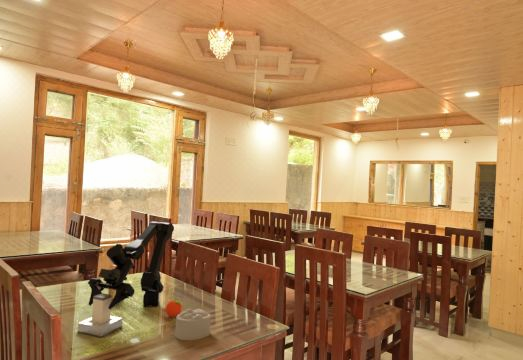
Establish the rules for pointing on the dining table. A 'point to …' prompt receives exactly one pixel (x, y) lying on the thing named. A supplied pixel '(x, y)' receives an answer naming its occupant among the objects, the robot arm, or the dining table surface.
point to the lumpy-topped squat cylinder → (192, 324)
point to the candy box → (110, 291)
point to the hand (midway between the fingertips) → (99, 306)
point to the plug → (101, 308)
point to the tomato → (173, 308)
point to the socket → (99, 327)
